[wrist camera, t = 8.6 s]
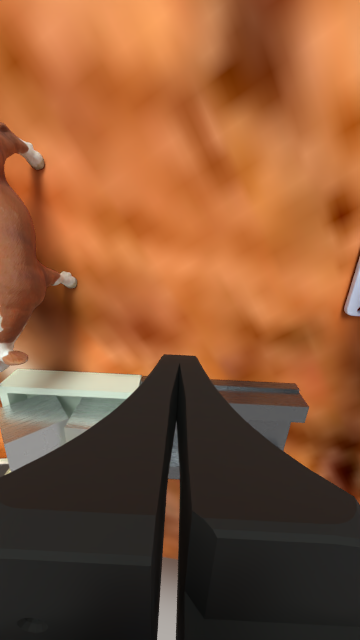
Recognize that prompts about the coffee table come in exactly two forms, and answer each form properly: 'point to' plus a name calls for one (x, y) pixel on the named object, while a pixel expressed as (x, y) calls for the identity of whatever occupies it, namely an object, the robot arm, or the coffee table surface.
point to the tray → (66, 386)
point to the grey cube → (89, 414)
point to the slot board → (257, 410)
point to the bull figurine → (19, 256)
